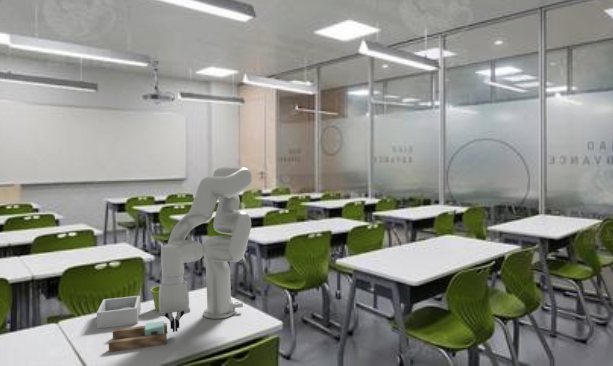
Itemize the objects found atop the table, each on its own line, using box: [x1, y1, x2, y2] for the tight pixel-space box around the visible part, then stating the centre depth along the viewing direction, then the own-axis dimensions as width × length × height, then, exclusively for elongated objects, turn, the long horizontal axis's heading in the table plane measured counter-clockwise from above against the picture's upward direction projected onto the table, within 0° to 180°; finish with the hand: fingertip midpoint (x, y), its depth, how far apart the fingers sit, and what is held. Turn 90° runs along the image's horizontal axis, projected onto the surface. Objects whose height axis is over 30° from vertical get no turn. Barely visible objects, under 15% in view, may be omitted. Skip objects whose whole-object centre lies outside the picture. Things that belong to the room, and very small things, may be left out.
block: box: [144, 320, 165, 336], centre depth 148 cm, size 6×6×5 cm
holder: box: [96, 295, 142, 329], centre depth 168 cm, size 14×16×6 cm
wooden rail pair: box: [108, 322, 168, 353], centre depth 147 cm, size 18×12×4 cm, turn 107°
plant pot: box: [150, 285, 160, 312], centre depth 178 cm, size 9×9×9 cm
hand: (175, 330), depth 150 cm, fingers closed
